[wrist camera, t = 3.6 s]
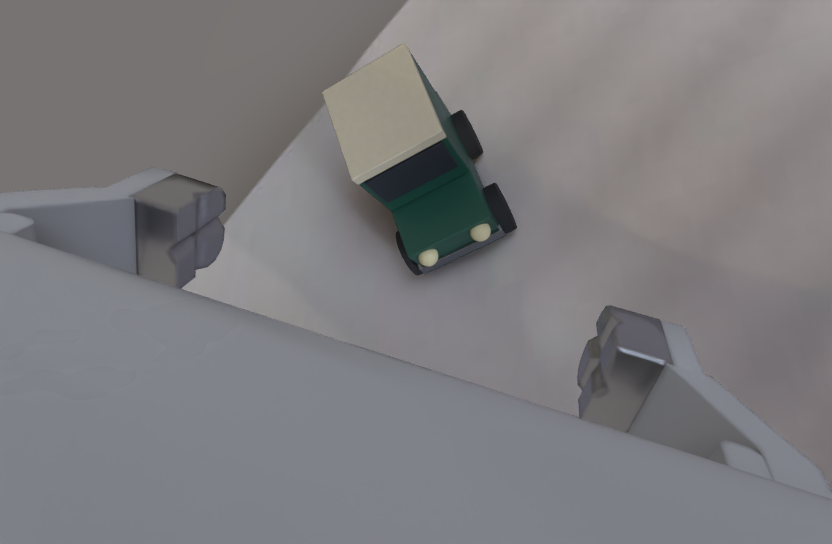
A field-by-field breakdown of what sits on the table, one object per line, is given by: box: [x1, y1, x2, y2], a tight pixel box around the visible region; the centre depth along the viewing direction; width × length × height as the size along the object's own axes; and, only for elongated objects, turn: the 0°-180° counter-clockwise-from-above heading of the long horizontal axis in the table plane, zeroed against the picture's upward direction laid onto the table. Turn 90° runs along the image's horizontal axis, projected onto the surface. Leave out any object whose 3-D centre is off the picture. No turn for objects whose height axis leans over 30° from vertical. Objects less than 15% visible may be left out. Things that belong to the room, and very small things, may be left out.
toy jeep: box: [322, 43, 517, 275], centre depth 27 cm, size 8×6×8 cm
